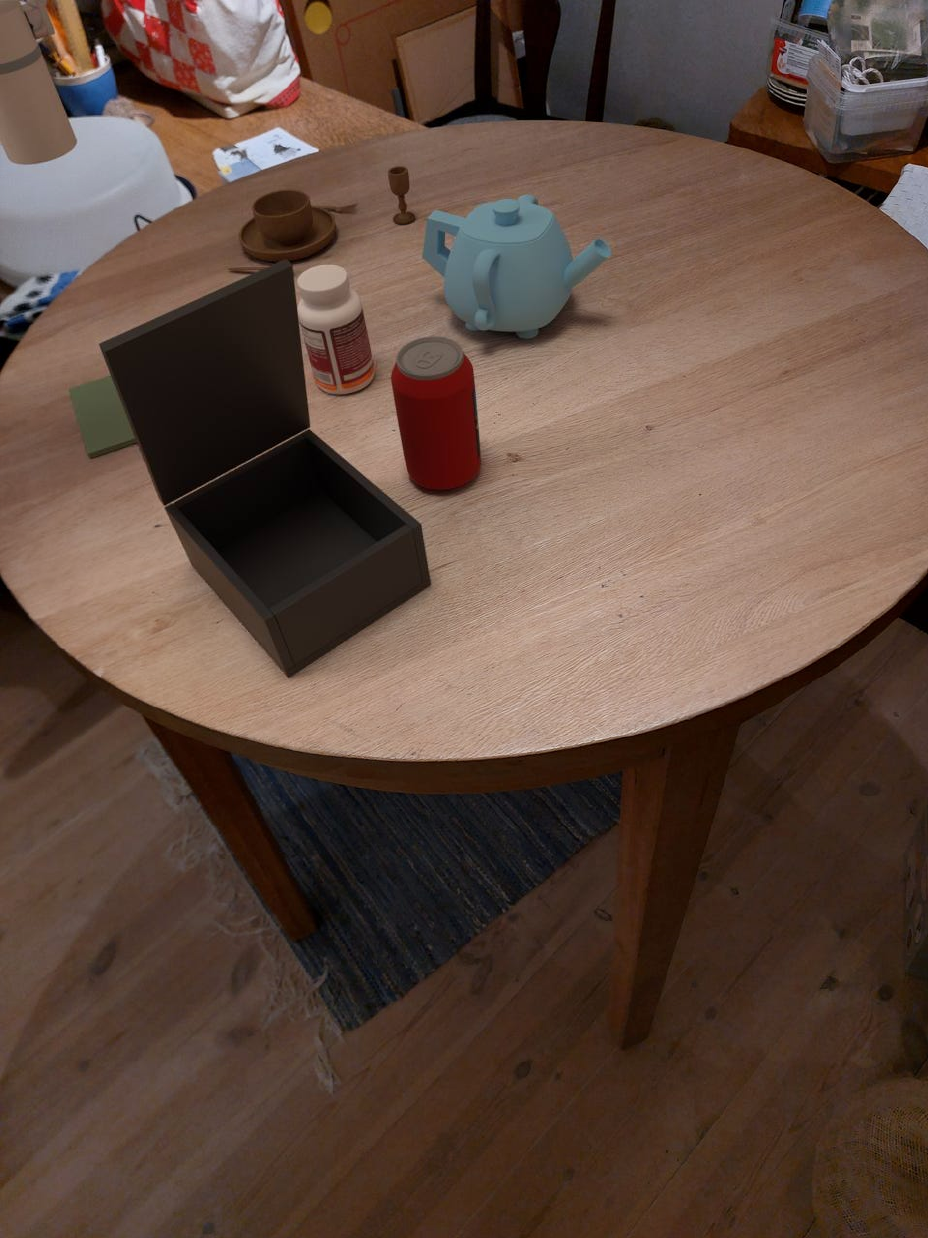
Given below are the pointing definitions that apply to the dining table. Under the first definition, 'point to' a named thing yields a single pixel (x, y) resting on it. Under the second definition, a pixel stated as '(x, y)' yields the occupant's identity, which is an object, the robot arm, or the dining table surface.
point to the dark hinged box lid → (213, 380)
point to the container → (28, 95)
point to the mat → (101, 417)
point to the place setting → (302, 222)
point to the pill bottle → (334, 330)
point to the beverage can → (437, 412)
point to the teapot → (507, 264)
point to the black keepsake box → (301, 548)
